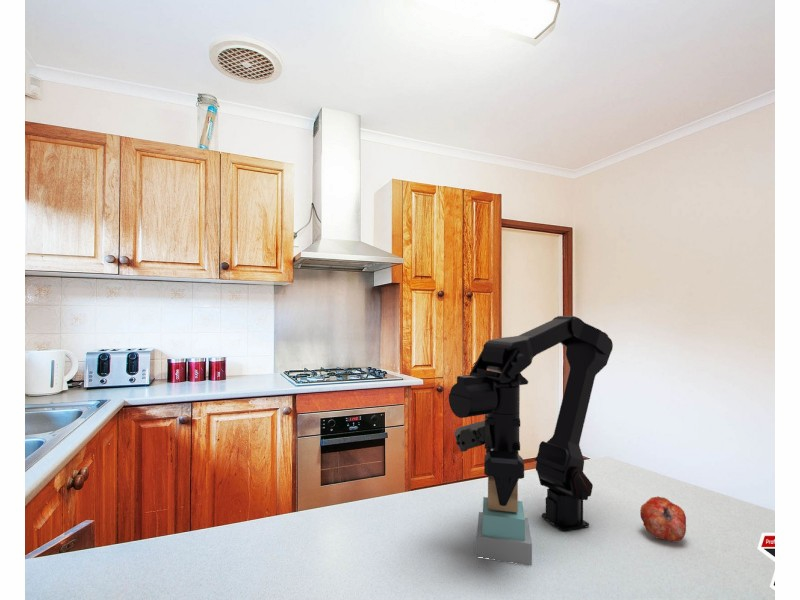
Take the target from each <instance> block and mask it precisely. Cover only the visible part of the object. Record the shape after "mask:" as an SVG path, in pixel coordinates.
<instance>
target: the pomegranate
mask: <svg viewBox="0 0 800 600" xmlns="http://www.w3.org/2000/svg"><path fill="white" fill-rule="evenodd" d="M639 513H640V519H641V521H642V522H643V527H644V529H645V530H646V531H647V532H648V533H649V534H651V536H653V537H654V538H656V539H659V540H665V541H669V542H674V543H675V542H679V541H681V540H682V539H684V538H685V536H686V533H687V516H686V513H685V511H684V510H683V509H682V507H681V506H679V505H677V504H675V503H673V502H672V501H670V500H669V499H668V498H666V497H662V496H658V495H657V496H655V497H654V496H653V497H650V498H649V499H648V500H647V501H646V502H645V503H643V504H642V505H641V506H640V512H639Z"/></svg>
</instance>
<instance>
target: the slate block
mask: <svg viewBox="0 0 800 600" xmlns="http://www.w3.org/2000/svg"><path fill="white" fill-rule="evenodd" d="M477 517H478V519H477V529H476V551H475V552H476V557H483V558H489V559H495V560H500V561H499V562H501V561H506V562H505V563H508V562H513V563H512V564H515V563H517V564H518V565H522V564H523V566H529V565H530V567H532V565H533V559H532V558H533V557H532V556H533V543H532V541H533V540H532V536H531V530H530V523H529V518H528V517H525V541H521V540H513V539H506V538H498V537H490V536H483V535H482V519H483V511H478V516H477ZM517 564H516V565H517Z"/></svg>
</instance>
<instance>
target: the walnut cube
mask: <svg viewBox="0 0 800 600" xmlns="http://www.w3.org/2000/svg"><path fill="white" fill-rule="evenodd" d="M518 492H519V483H518V482H517V484H516V486H515V488H514V490H513V492H512V494H511V496H510V498H509V500H508V503H507V505H506V506H501V505H500V504H499V500H498V495H497V490H496V485H495V480H494V477H493V476H487V497H488V509H491V510H500V511H509V512H518V501H519V499H518V497H519V493H518Z"/></svg>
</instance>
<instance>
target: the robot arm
mask: <svg viewBox="0 0 800 600" xmlns="http://www.w3.org/2000/svg"><path fill="white" fill-rule="evenodd" d="M558 344H561V345H562V346H564V347H565V349H566V350H565V357H566V360H567V363H568V366H569V371H568V374H567V375H568V376H567V380H566V383H565V387H564V392H563V395H562V400H561V404H560V407H559V411H558V412H559V413H558V415H557V418H556V423H555V428H554V432H553V435H552V436H551V437H550V438H549V439H548V440H547V441H544V440H542V441H541V442H540V444H539V446H538V452H537V454H536V457H535V459H534V461H535V471H536V473H537V476H538V480H539V484H540V486H543V487H545V488H546V489H547V490H546V497H545V512H542V513H541V516H542V518H544V519H545V520H546V521H548V522H549V523H550V524H551V525H553V526H554V527H556V528H557V529H559V531H562V532H567V531H573V530H578V529H583V528H589V527H590V524H589V522H588V521H586V520H584V501H588V499H589V497H591V496H592V492H593V486H594V485H593V483H592V482H591V480H590V479H589V478H588V476H587V475H586V474H585V473H584V466H585V460H584V456H583V453H582V450H581V447H580V443H581V438H582V435H583V434H582V433H583V429H584V425H585V422H586V416H587V412H588V408H589V403H590V400H591V395H592V391H593V388H594V382H595V379H596V376H597V374H599V373H600V372H601V371H602V370H603V369H604V368H605V367H606V366H607V365H608V361H609V359H610V356H611V353H612V351H613V347H614V346H613V345H614V344H613V340H612V339H611V338H610V336H609V335H608V333H606V332H605V331H602V330H601V329H600V328H597V327H595V326H593V325H590V324H588V323H586V322H584V321H583V320H582V319H581V318H579V317H577V316H574V315H571V316H570V315H558V316H556V317H555V316H554V318H553V319H551V320H549V321H547V322H545V323H543V324H540V325H539V326H536V327H533V328H532V329H530V330H528V331H525V332H522V333H521V334H519V335H516V336H515V335H514V336H506V337H499V338H498V337H497V338H494V339H489V340H488V341H486V342H484V344H483V347H482V351H481V352H480V354H479V355H478V358H477V360H476V361H475V364H474V365H473V367H472V369H471V371H470V372H469V375H468V376H466V375H457V377H456V383H454V384H453V386H451V388H450V392H449V393H448V403H449V407H450V409H451V411H452V413H453V414H454V415H455V416H456V417H457V418H459V419H464V418H471V417H477V416H483V415H484V420H482V421H478V422H474V423H470V424H467V425H464V426H459V427H457V428H456V429H455V430H454V433H453V434H454V437H455V439H456V442H455V444H456V446H458V448H459V452H461V453H463V452H467V451H468V450H469V449H474V448H478V447H481V446H483V445H484V449H485V453H486V454H484V460H483V463H484V464H483V466H484V467H483V470H484V471H483V474H484V475H485V476H487V477H488V476H493V477H494V480H495V485H496V490H497V495H498V500H499V504H500V505H501V506H506V505H507V503H508V500H509V498H510V496H511V494H512V492H513V490H514V488H515V486H516V484H517V482H518V481H519V480H522V479H524V478H525V462H524V458H523V457H522V456H521V455H520V454H519V451H521V443H520V427H521V418H520V409H521V408H520V404H521V403H520V399H521V398H520V397H521V396H520V395H521V392H520V391H521V389H520V388H521V387H520V386H524V385H528V384H529V379H527V378H526V377H524V376H523V374H522V372H523V371H525V370H526V369H527V368H528V367H530V366H531V365H532V363H533V359H534V358H535V357H536V356H537V355H538V354H539V355H540V354H541V353H543V352H545V351H547V350H549V349H551V348H553V347H554V346H557V345H558Z"/></svg>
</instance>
